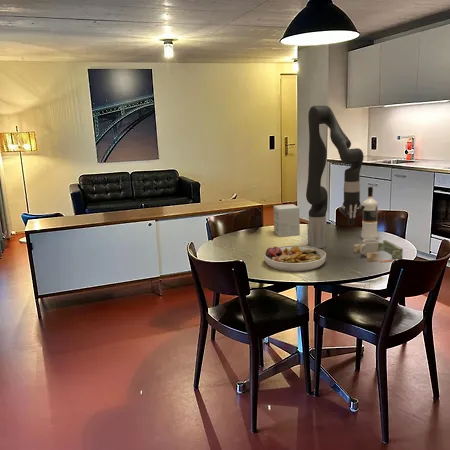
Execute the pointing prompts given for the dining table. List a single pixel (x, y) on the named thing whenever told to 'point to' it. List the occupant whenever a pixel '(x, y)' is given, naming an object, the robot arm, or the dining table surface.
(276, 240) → the dining table surface
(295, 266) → the bowl
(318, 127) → the robot arm
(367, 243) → the cup
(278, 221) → the supplement box
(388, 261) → the trap mat
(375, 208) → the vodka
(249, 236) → the dining table surface
